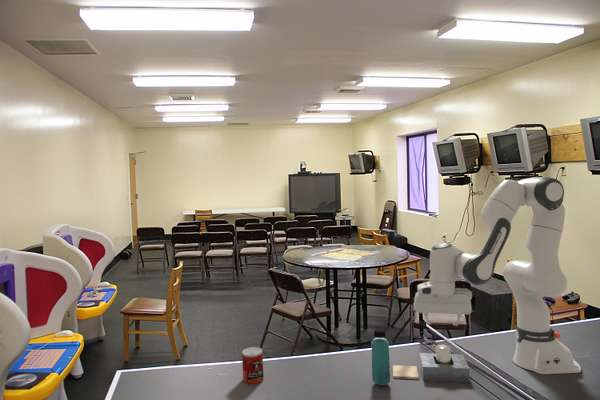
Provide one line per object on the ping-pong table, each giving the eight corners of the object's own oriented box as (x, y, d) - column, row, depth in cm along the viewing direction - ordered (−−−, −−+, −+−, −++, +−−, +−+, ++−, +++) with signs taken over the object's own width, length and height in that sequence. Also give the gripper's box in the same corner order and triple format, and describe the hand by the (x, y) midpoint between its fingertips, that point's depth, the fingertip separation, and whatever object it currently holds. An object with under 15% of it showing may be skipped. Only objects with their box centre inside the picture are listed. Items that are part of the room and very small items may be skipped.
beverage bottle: (386, 390, 150) (385, 334, 149) (368, 386, 153) (367, 331, 152) (393, 382, 155) (392, 328, 154) (375, 378, 159) (374, 325, 158)
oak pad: (416, 368, 166) (416, 366, 166) (418, 379, 157) (418, 377, 157) (392, 367, 168) (392, 365, 168) (393, 378, 159) (393, 375, 159)
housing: (463, 367, 166) (462, 354, 165) (469, 382, 154) (469, 368, 154) (419, 365, 168) (419, 353, 168) (423, 380, 157) (422, 366, 156)
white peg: (449, 370, 163) (449, 344, 163) (452, 377, 158) (451, 350, 158) (435, 370, 164) (434, 344, 164) (437, 376, 159) (436, 349, 158)
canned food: (247, 386, 156) (246, 357, 156) (240, 377, 164) (238, 349, 163) (267, 381, 160) (265, 352, 159) (259, 373, 167) (257, 345, 166)
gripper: (470, 286, 161) (470, 322, 161) (413, 284, 164) (413, 320, 165) (473, 290, 154) (473, 328, 155) (414, 289, 158) (415, 326, 159)
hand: (442, 324), depth 160 cm, fingers open, 8 cm apart
